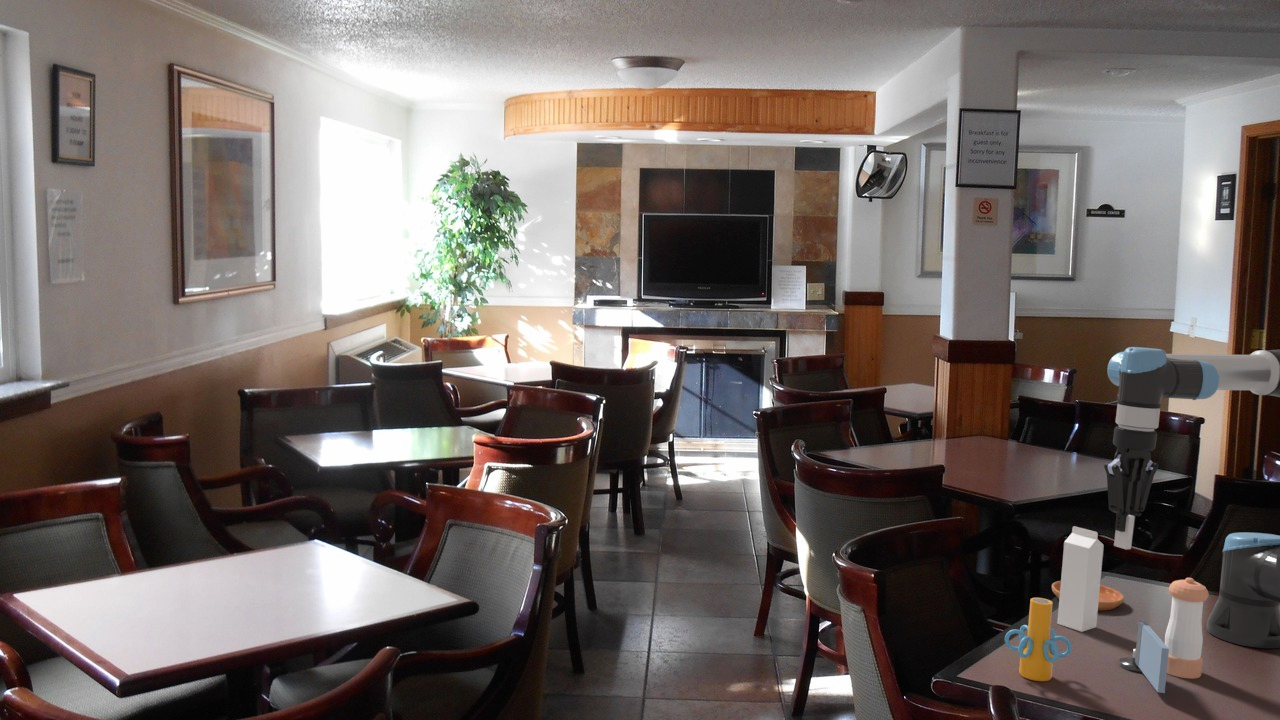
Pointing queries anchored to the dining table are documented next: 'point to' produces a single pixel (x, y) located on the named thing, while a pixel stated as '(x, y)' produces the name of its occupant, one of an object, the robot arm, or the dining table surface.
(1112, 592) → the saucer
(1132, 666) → the shiny grey rounded piece
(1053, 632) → the tube with blue loops
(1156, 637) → the light blue rectangular panel
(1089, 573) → the milk
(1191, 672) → the pepper shaker
